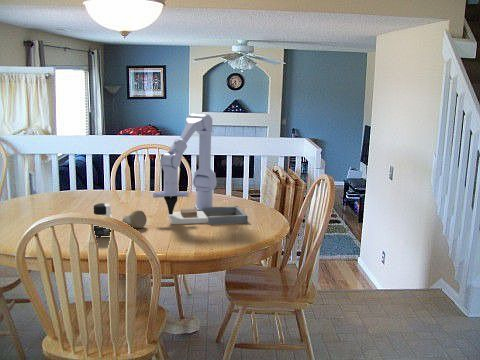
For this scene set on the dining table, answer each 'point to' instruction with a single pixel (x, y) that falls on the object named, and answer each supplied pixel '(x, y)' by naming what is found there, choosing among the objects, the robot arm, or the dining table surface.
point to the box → (237, 218)
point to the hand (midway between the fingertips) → (170, 213)
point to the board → (187, 218)
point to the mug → (136, 219)
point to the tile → (188, 213)
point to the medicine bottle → (104, 211)
